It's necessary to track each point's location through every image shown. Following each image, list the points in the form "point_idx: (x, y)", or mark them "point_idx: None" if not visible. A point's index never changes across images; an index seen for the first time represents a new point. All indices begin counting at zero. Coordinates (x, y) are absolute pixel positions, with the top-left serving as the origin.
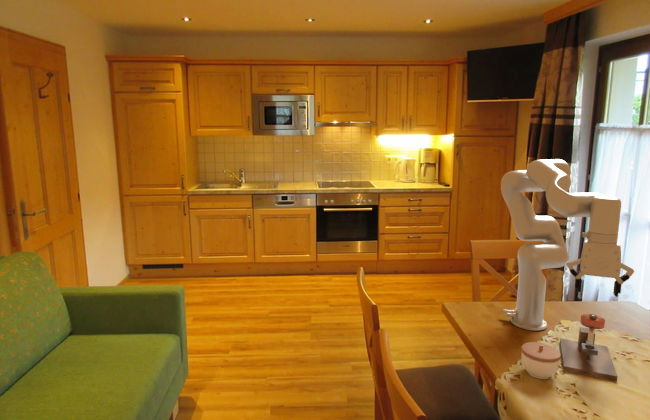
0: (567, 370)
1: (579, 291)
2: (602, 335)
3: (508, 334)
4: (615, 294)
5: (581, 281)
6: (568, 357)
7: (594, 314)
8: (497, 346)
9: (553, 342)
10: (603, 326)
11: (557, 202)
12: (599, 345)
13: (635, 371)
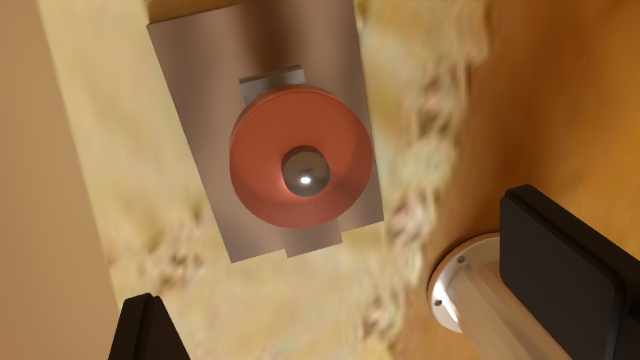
0: None
1: (516, 188)
2: (261, 349)
3: (542, 161)
4: (150, 307)
5: (604, 270)
6: (341, 77)
7: (301, 196)
8: (581, 34)
9: (398, 199)
10: (231, 136)
11: None
12: (256, 254)
13: (111, 156)
